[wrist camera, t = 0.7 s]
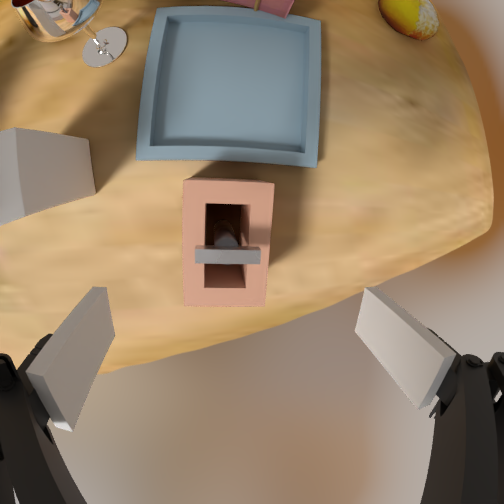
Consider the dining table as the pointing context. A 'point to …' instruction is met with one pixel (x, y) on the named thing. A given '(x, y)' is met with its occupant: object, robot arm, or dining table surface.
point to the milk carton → (41, 171)
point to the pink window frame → (251, 234)
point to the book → (267, 6)
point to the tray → (231, 87)
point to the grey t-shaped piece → (226, 248)
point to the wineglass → (71, 26)
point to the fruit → (410, 17)
